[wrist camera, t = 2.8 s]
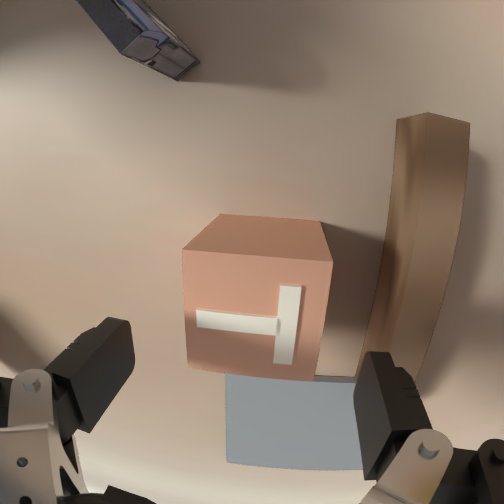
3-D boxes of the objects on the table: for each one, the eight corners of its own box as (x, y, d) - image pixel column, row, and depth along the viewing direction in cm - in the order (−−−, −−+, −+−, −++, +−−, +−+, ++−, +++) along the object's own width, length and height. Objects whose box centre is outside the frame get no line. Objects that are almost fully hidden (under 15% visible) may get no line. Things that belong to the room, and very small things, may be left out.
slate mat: (227, 367, 19) (225, 373, 19) (411, 377, 18) (414, 382, 17) (227, 456, 22) (226, 462, 22) (371, 463, 21) (372, 469, 21)
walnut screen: (396, 119, 14) (427, 112, 10) (432, 126, 14) (469, 123, 10) (351, 388, 19) (359, 434, 15) (380, 388, 19) (392, 432, 15)
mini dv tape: (201, 62, 14) (153, 24, 8) (178, 81, 15) (120, 54, 9) (124, -18, 13) (69, -58, 7) (105, -1, 13) (45, -36, 7)
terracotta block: (220, 214, 16) (180, 250, 11) (319, 221, 16) (333, 263, 10) (219, 302, 18) (187, 369, 12) (309, 310, 17) (313, 384, 12)
